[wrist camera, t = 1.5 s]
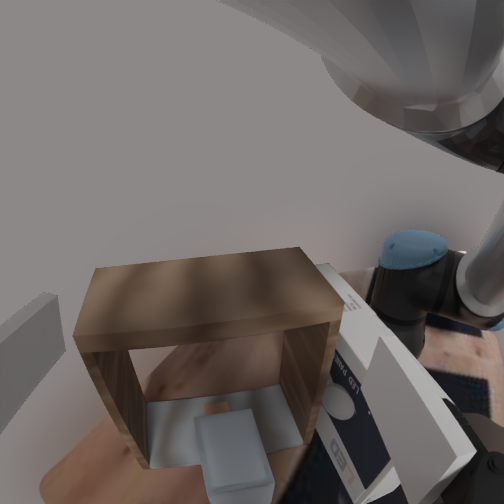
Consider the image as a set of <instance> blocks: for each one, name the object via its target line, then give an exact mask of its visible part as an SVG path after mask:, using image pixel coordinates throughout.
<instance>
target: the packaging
mask: <svg viewBox="0 0 504 504" xmlns="http://www.w3.org/2000/svg"><path fill="white" fill-rule="evenodd" d="M315 266H316V267H317V269H318V270H319V271H320V272H321V273H322V275H323V276H324V277H325V278H326V279H327V281H328V282H329V283H330V284H331V286H332V287H333V288H334V289H335V290H336V292H337V293H338V294H339V295H340V297H341V298H342V299H343V300H344V302H345V305H344V310H343V315H342V320H341V325H340V330H339V334H338V339H337V343H336V348H335V352H334V357H333V361H332V365H331V369H330V373H329V377H328V381H327V385H326V389H325V393H324V397H323V400H322V404H321V408H320V411H319V415H318V419H317V422H316V425H315V428H316V430H317V432H318V434H319V436H320V438H321V440H322V442H323V444H324V446H325V448H326V450H327V452H328V454H329V456H330V458H331V460H332V462H333V464H334V466H335V468H336V470H337V472H338V474H339V476H340V478H341V479H342V481H343V483H344V485H345V487H346V489H347V491H348V493H349V495H350V497H351V499H352V501H353V503H354V504H366V503H368V502H371V501H373V500H375V499H377V498H379V497H381V496H383V495H385V494H388V493H390V492H392V491H393V490H394V489H395V488H396V487H397V486H398V485H399V484H400V483H401V482H400V480H399V477H398V475H397V473H396V470H395V468H394V465H393V463H392V460H391V458H390V456H389V453H388V451H387V448H386V446H385V444H384V441H383V439H382V437H381V434H380V432H379V429H378V427H377V425H376V423H375V420H374V418H373V416H372V413H371V411H370V409H369V406H368V404H367V402H366V400H365V397H364V395H363V393H362V391H361V385H362V383H363V380H364V378H365V375H366V372H367V370H368V367H369V364H370V362H371V359H372V356H373V353H374V350H375V347H376V344H377V341H378V338H379V335H384V336H396V335H395V334H394V333H393V332H392V331H391V330H390V329H389V328H387V327H386V325H385V324H384V323H383V322H382V321H381V320H380V319H379V318H378V317H377V316H376V315H377V314H376V313H375V312H374V311H373V310H372V309H371V308H370V307H369V306H368V305H367V304H366V302H365V301H364V300H363V299H362V298H361V297H360V296H359V295H358V294H357V293H356V292H355V291H354V290H353V288H352V287H351V286H350V285H349V284H348V283H347V282H346V281H345V280H344V279H343V278H342V277H341V276H340V275H339V274H338V273H337V272H336V271H335V269H334V268H333V267H332V266H331V265H330V264H329V263H325V264H318V265H315ZM398 340H399V339H398ZM399 341H400V340H399ZM400 342H401V341H400ZM401 344H402V345H403V346H404V344H403V343H402V342H401ZM404 348H405V349H406V350H407V352H408V353H409V354H410V356H411V357H412V358H413V360H414V361H415V362H416V364H417V365H418V367H419V368H420V369H421V371H422V372H423V373H424V375H425V376H426V378H427V379H428V380H429V382H430V383H431V385H432V386H433V387H434V389H435V390H436V392H437V393H438V394H439V396H440V397H441V399H442V398H447V399H448V400H449V401H451V402H452V400H451V399H450V398H449V397H448V396H447V394H446V393H445V392H444V391H443V390H442V388H441V387H440V386H439V385H438V384H437V383H436V381H435V380H434V379H433V378H432V377H431V376H430V374H429V373H428V372H427V371H426V370H425V369H424V367H423V366H422V365H421V364H420V363H419V362H418V360H417V359H416V358H415V357H414V356H413V355H412V354H411V352H410V351H409V350H408V349H407V348H406V347H405V346H404ZM452 403H453V402H452ZM453 404H454V403H453ZM454 405H455V404H454Z"/></svg>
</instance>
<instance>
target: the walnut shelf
mask: <svg viewBox="0 0 504 504" xmlns="http://www.w3.org/2000/svg"><path fill="white" fill-rule="evenodd" d="M344 305H345V302H344V300H343V299H342V298H341V297H340V295H339V294H338V293H337V292H336V290H335V289H334V288H333V287H332V286H331V284H330V283H329V282H328V281H327V279H326V278H325V277H324V276H323V275H322V273H321V272H320V271H319V270H318V269H317V267H316V266H315V265H314V264H313V263H312V261H311V260H310V259H309V258H308V257H307V255H306V254H305V253H304V252H303V251H302V249H301V248H300V247H294V248H284V249H275V250H265V251H256V252H246V253H237V254H227V255H218V256H208V257H199V258H189V259H180V260H171V261H161V262H151V263H142V264H133V265H123V266H113V267H104V268H96V269H95V272H94V274H93V277H92V279H91V282H90V285H89V288H88V291H87V293H86V296H85V299H84V302H83V306H82V308H81V311H80V314H79V317H78V320H77V324H76V326H75V330H74V333H73V338H74V340H75V343H76V345H77V348H78V350H79V352H80V355H81V357H82V359H83V361H84V364H85V366H86V367H87V370H88V372H89V374H90V377H91V378H92V381H93V382H94V385H95V387H96V389H97V391H98V393H99V395H100V397H101V399H102V401H103V402H104V405H105V406H106V408H107V410H108V412H109V414H110V416H111V418H112V419H113V421H114V423H115V425H116V426H117V428H118V430H119V432H120V433H121V435H122V437H123V438H124V440H125V442H126V443H127V445H128V447H129V448H130V450H131V451H132V453H133V455H134V456H135V458H136V459H137V461H138V462H139V464H140V465H141V467H142V468H143V469H156V468H171V467H183V466H193V465H201V461H200V455H199V449H198V443H197V437H196V431H195V425H194V418H193V417H198V416H206V415H213V414H220V413H227V412H233V411H239V410H245V409H252V413H253V416H254V419H255V422H256V425H257V429H258V432H259V435H260V438H261V441H262V444H263V447H264V450H265V453H266V454H268V453H272V452H277V451H281V450H285V449H289V448H293V447H297V446H301V445H305V444H309V443H310V442H311V439H312V436H313V432H314V429H315V425H316V422H317V419H318V415H319V411H320V408H321V404H322V400H323V397H324V393H325V389H326V385H327V381H328V377H329V373H330V369H331V365H332V361H333V357H334V352H335V348H336V343H337V339H338V334H339V330H340V325H341V320H342V315H343V310H344ZM282 330H284V340H283V351H282V363H281V373H280V384H279V385H274V386H269V387H263V388H258V389H252V390H247V391H241V392H234V393H228V394H221V395H214V396H207V397H199V398H191V399H182V400H172V401H161V402H149V403H147V402H146V400H145V397H144V394H143V392H142V389H141V386H140V384H139V381H138V378H137V375H136V372H135V370H134V367H133V364H132V361H131V358H130V355H129V352H128V350H133V349H145V348H155V347H166V346H175V345H184V344H193V343H201V342H209V341H217V340H224V339H231V338H238V337H245V336H252V335H258V334H264V333H271V332H277V331H282Z"/></svg>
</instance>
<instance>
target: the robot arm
mask: <svg viewBox="0 0 504 504" xmlns="http://www.w3.org/2000/svg"><path fill="white" fill-rule="evenodd" d="M216 1H219V2H221V3H223V4H226V5H228V6H230V7H233V8H235V9H237V10H239V11H242V12H244V13H246V14H248V15H250V16H252V17H254V18H256V19H258V20H260V21H262V22H264V23H266V24H268V25H270V26H272V27H274V28H275V29H277V30H279V31H281V32H283V33H285V34H287V35H288V36H290V37H292V38H294V39H295V40H297V41H299V42H301V43H302V44H304V45H305V46H307V47H309V48H310V49H312V50H314V51H316V52H317V53H319V54H320V55H321V58H322V60H323V62H324V64H325V66H326V69H327V71H328V72H329V74H330V76H331V77H332V79H333V80H334V82H335V83H336V84H337V86H338V87H339V88H340V89H341V90H342V92H343V93H344V94H345V95H346V96H347V97H348V98H349V99H350V100H351V101H353V102H354V103H355V104H357V105H358V106H359V107H360V108H362V109H363V110H365V111H367V112H368V113H370V114H371V115H373V116H374V117H376V118H378V119H380V120H382V121H384V122H386V123H388V124H390V125H392V126H394V127H396V128H398V129H400V130H402V131H404V132H406V133H408V134H410V135H412V136H414V137H416V138H418V139H420V140H422V141H424V142H426V143H428V144H430V145H432V146H434V147H436V148H438V149H441V150H442V151H445V152H447V153H449V154H452V155H454V156H456V157H458V158H461V159H463V160H465V161H468V162H470V163H473V164H476V165H478V166H481V167H484V168H487V169H491V170H495V171H496V172H500V173H503V174H504V0H216ZM378 262H379V266H378V271H377V276H376V280H375V285H374V290H373V294H372V298H371V302H370V305H369V307H370V308H371V309H372V310H373V311H374V312H375V313H376V314H377V315H376V316H377V317H378V318H379V319H380V320H381V321H382V322H383V323H384V324H385V325H386V327H387V328H389V329H390V330H391V331H392V332H393V333H394V334H395V335H396V336H384V335H379V338H378V341H377V344H376V347H375V350H374V353H373V356H372V359H371V362H370V364H369V367H368V370H367V372H366V375H365V378H364V380H363V383H362V385H361V391H362V393H363V395H364V397H365V400H366V402H367V404H368V406H369V409H370V411H371V413H372V416H373V418H374V420H375V423H376V425H377V427H378V429H379V432H380V434H381V437H382V439H383V441H384V444H385V446H386V448H387V451H388V453H389V456H390V458H391V460H392V463H393V465H394V468H395V470H396V473H397V475H398V477H399V480H400V482H401V485H402V487H403V490H404V492H405V495H406V497H407V500H408V503H409V504H432V503H433V502H434V501H435V500H436V499H437V498H438V497H439V496H440V495H441V497H442V499H443V502H442V503H441V504H504V454H502V453H499V452H494V451H492V452H488V451H487V450H486V448H485V447H484V445H483V444H482V442H481V441H480V439H479V438H478V436H477V435H476V433H475V432H474V430H473V429H472V427H471V426H470V425H468V422H467V420H466V419H465V418H463V415H462V413H461V412H460V410H459V409H458V408H457V406H456V405H454V404H453V403H452V402H451V401H449V400H448V399H447V398H442V399H441V397H440V396H439V394H438V393H437V392H436V390H435V389H434V387H433V386H432V385H431V383H430V382H429V380H428V379H427V378H426V376H425V375H424V373H423V372H422V371H421V369H420V368H419V367H418V365H417V364H416V362H415V361H414V360H413V358H412V357H411V356H410V354H409V353H408V352H407V350H406V349H405V348H404V346H405V347H406V348H407V349H408V350H409V351H410V352H411V354H412V355H413V356H414V357H415V358H416V359H418V357H419V356H420V354H421V352H422V350H423V347H424V344H425V334H424V333H425V319H426V316H427V313H428V312H429V313H433V314H436V315H439V316H443V317H446V318H449V319H452V320H455V321H458V322H462V323H465V324H468V325H471V326H474V327H478V328H480V329H481V330H486V331H487V330H489V331H498V330H501V329H502V328H504V200H503V202H502V204H501V206H500V208H499V210H498V212H497V215H496V216H495V218H494V220H493V222H492V224H491V226H490V228H489V230H488V231H487V233H486V235H485V237H484V239H483V240H482V243H481V244H480V246H476V247H474V248H472V249H470V250H469V251H468V252H467V253H466V254H463V253H460V252H456V251H452V250H449V249H448V244H447V241H446V240H445V239H444V238H443V237H441V236H438V235H437V234H435V233H432V232H428V231H422V230H403V231H398V232H395V233H393V234H391V235H390V236H388V237H387V238H386V240H385V242H384V244H383V248H382V252H381V256H380V257H379V260H378ZM398 339H399V340H400V341H401V342H402V343H403V344H404V346H403V345H402V344H401V342H400V341H399V340H398ZM65 351H66V349H65V344H64V337H63V332H62V325H61V318H60V312H59V303H58V295H54V294H50V293H46V292H43V293H42V294H40V295H39V296H38V297H36V298H35V299H34V300H32V301H31V302H30V303H28V304H27V305H26V306H25V307H23V308H22V309H21V310H19V311H18V312H17V313H16V314H14V315H13V316H12V317H11V318H9V319H8V320H7V321H5V322H4V323H3V324H2V325H1V326H0V434H1V433H2V431H3V430H4V429H5V427H6V426H7V424H8V423H9V422H10V420H11V419H12V418H13V416H14V415H15V414H16V412H17V411H18V410H19V408H20V407H21V406H22V405H23V403H24V402H25V401H26V399H27V398H28V397H29V396H30V394H31V393H32V391H33V390H34V389H35V388H36V387H37V385H38V384H39V383H40V381H41V380H42V379H43V378H44V377H45V375H46V374H47V373H48V372H49V370H50V369H51V368H52V367H53V365H54V364H55V363H56V362H57V361H58V359H59V358H60V357H61V356H62V355H63V354H64V352H65Z"/></svg>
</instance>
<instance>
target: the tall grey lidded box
mask: <svg viewBox="0 0 504 504" xmlns="http://www.w3.org/2000/svg"><path fill="white" fill-rule="evenodd" d="M193 418H194V425H195V431H196V437H197V443H198V449H199V455H200V461H201V466H202V471H203V477H204V482H205V487H206V492H207V496H208V498H209V501H210V503H211V504H271V502H272V496H273V491H274V486H275V480H274V477H273V474H272V471H271V468H270V465H269V462H268V459H267V456H266V453H265V450H264V447H263V444H262V441H261V438H260V435H259V432H258V429H257V425H256V422H255V419H254V416H253V413H252V409H245V410H239V411H233V412H227V413H220V414H213V415H206V416H198V417H193Z"/></svg>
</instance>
